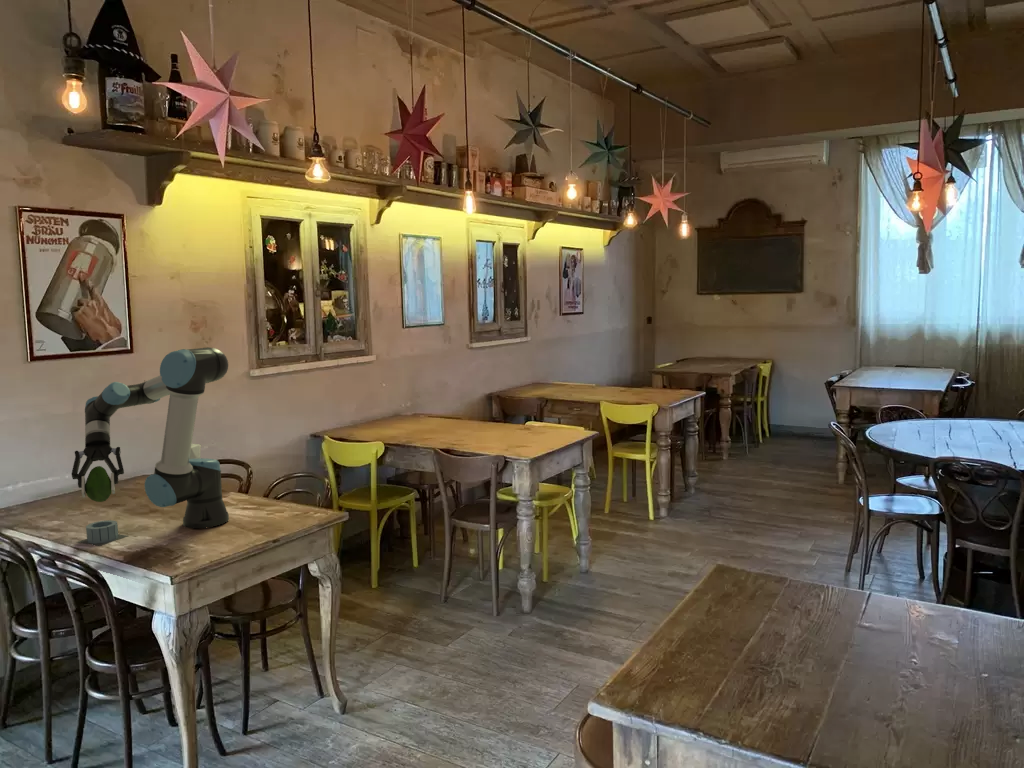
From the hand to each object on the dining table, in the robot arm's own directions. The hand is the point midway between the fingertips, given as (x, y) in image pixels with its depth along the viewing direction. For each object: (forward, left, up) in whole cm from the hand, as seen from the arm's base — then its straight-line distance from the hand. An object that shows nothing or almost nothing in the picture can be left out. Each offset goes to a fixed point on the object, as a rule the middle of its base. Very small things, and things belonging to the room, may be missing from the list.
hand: (98, 493), depth 244 cm
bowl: (+2, -1, -16) cm, 16 cm away
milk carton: (+29, -63, -17) cm, 72 cm away
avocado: (+3, -2, -4) cm, 5 cm away
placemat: (+2, -1, -17) cm, 17 cm away
